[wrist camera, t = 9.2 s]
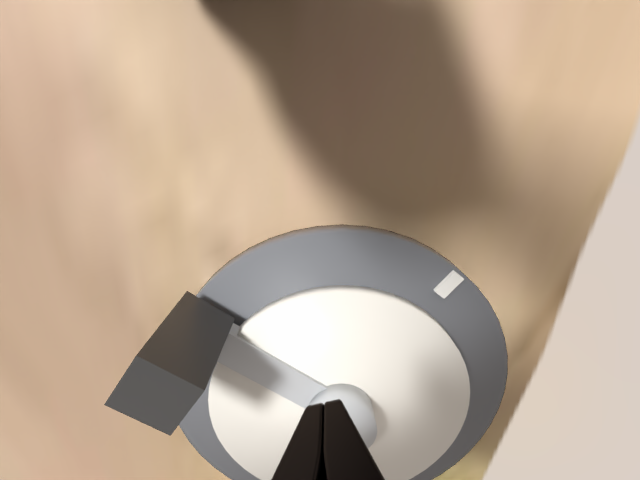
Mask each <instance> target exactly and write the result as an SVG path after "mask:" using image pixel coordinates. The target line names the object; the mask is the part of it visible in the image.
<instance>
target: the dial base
mask: <svg viewBox="0 0 640 480" xmlns="http://www.w3.org/2000/svg"><path fill="white" fill-rule="evenodd" d="M333 285H354V286H363V287H369V288H375V289H379V290H383V291H386V292H390V293H393V294H395V295H398V296H400V297H402V298H405V299H407V300H409V301H411V302H412V303H414V304H416V305H417V306H419V307H421V308H422V309H424V310H425V311H426V312H427V313H429V314H430V315H431V316H432V317H434V318H435V319H436V320H437V321H438V323H439V324H440V325H441V326H442V327H443V328H444V329H445V330H446V332H447V333H448V335H449V336H450V338H451V339H452V341H453V342H454V344H455V345H456V347H457V348H458V350H459V351H460V353H461V356H462V358H463V360H464V362H465V364H466V368H467V372H468V376H469V382H470V401H469V407H468V412H467V416H466V419H465V421H464V423H463V426H462V428H461V430H460V432H459V434H458V435H457V437H456V439H455V440H454V442H453V443H452V444H451V446H450V447H449V448H448V449H447V451H446V452H445V453H444V454H443V455H442V456H441V457H440V458H439V459H438V460H437V461H436V462H435V463H433V464H432V465H431V466H429V467H428V468H427V469H426V470H424V471H423V472H421V473H420V474H418V475H416V476H415V477H413V478H411V479H409V480H432V479H434V478H436V477H437V476H439V475H441V474H442V473H443V472H445V471H446V470H448V469H449V468H451V467H452V466H453V465H455V464H456V463H457V462H458V461H459V460H460V459H462V458H463V457H464V456H465V455H466V454H467V453H468V452H469V451H470V450H471V449H472V448H473V447H474V446H475V444H476V443H477V442H478V441H479V440H480V439H481V437H482V436H483V435H484V433H485V432H486V430H487V429H488V427H489V426H490V424H491V422H492V420H493V418H494V417H495V415H496V413H497V411H498V409H499V406H500V403H501V400H502V397H503V394H504V390H505V384H506V379H507V350H506V344H505V338H504V335H503V332H502V329H501V326H500V323H499V320H498V318H497V316H496V314H495V313H494V311H493V309H492V307H491V305H490V303H489V302H488V301H487V299H486V298H485V297H484V295H483V294H482V293H481V291H480V290H479V289H478V288H477V286H476V285H475V284H474V283H473V282H471V281H470V280H469V279H468V278H467V277H466V276H465V275H464V274H463V273H462V272H461V271H460V270H459V269H458V268H457V267H456V266H455V265H454V264H452V263H451V262H450V261H449V260H448V259H446V258H445V257H443V256H442V255H440V254H439V253H438V252H436V251H435V250H433V249H432V248H430V247H428V246H426V245H424V244H422V243H420V242H418V241H416V240H414V239H412V238H409V237H406V236H403V235H400V234H397V233H394V232H391V231H387V230H382V229H377V228H372V227H367V226H353V225H329V226H316V227H310V228H305V229H299V230H294V231H291V232H288V233H284V234H281V235H278V236H275V237H272V238H269V239H267V240H265V241H263V242H261V243H259V244H257V245H254V246H252V247H250V248H248V249H247V250H245V251H244V252H242V253H241V254H239V255H238V256H236V257H234V258H233V259H231V260H230V261H229V262H228V263H226V264H225V265H224V266H223V267H222V268H221V269H219V270H218V271H217V272H216V273H215V274H214V275H213V276H212V277H211V278H210V279H209V280H208V282H207V283H206V284H205V285H204V286H203V287H202V289H201V290H200V291H199V292H198V294H197V295H196V297H198V298H200V299H202V300H203V301H205V302H207V303H209V304H210V305H212V306H214V307H216V308H217V309H219V310H221V311H222V312H224V313H226V314H228V315H229V316H231V317H233V318H235V320H234V322H233V323H234V324H236V325H238V326H240V325H241V324H242V323H243V322H244V321H246V320H247V319H248V318H249V317H250V316H251V315H253V314H254V313H255V312H257V311H258V310H260V309H261V308H263V307H264V306H266V305H267V304H269V303H271V302H273V301H276V300H278V299H280V298H282V297H284V296H287V295H290V294H293V293H295V292H298V291H302V290H306V289H311V288H316V287H322V286H333ZM216 364H217V363H216ZM215 366H216V365H215ZM214 369H215V368H214ZM213 371H214V370H213ZM212 373H213V372H212ZM211 378H212V375H211V377H210V380H209V382H208V384H207V387H206V389H205V391H204V392H203V394H202V395H201V396H200V398H199V399H198V400H197V402H196V403H195V404H194V405H193V407H192V408H191V409H190V411H189V412H188V413H187V415H186V416H185V417H184V419H183V420H182V421H181V422H180V424H179V426H180V428H181V429H182V431H183V432H184V434H185V436H186V437H187V439H188V440H189V442H190V443H191V444H192V445H193V447H194V448H195V449H196V450H197V451H198V452H199V454H200V455H201V456H202V457H203V458H204V459H206V460H207V461H208V462H209V463H210V464H211V465H212V466H213V467H214V468H216V469H217V470H219V471H220V472H221V473H223V474H224V475H226V476H227V477H228V478H230V479H232V480H260V479H259V478H257V477H255V476H254V475H252V474H251V473H249V472H248V471H246V470H245V469H244V468H243V467H241V466H240V465H239V464H238V463H237V462H236V461H235V460H234V459H233V458H232V457H231V456H230V455H229V453H228V452H227V451H226V450H225V448H224V447H223V445H222V444H221V442H220V441H219V439H218V437H217V435H216V433H215V431H214V428H213V426H212V422H211V418H210V415H209V405H208V395H209V386H210V382H211Z"/></svg>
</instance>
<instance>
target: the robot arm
mask: <svg viewBox="0 0 640 480" xmlns="http://www.w3.org/2000/svg"><path fill="white" fill-rule="evenodd" d="M271 480H385V479H384V477H383V475H382V473H381V472H380V470H379V468H378V466H377V464H376V462H375V461H374V459H373V457H372V455H371V453H370V451H369V450H368V448H367V446H366V444H365V442H364V440H363V439H362V437H361V435H360V433H359V431H358V429H357V428H356V426H355V424H354V422H353V420H352V419H351V417H350V415H349V413H348V411H347V409H346V408H345V406H344V404H343V402H342V401H341V400H340V399H336V400H331V401H327V402H325V404H323V403H317V404H312V405H308V406H307V407H306V408H305V410H304V412H303V414H302V416H301V419H300V421H299V423H298V425H297V427H296V429H295V431H294V433H293V435H292V437H291V440H290V442H289V444H288V446H287V448H286V450H285V452H284V454H283V456H282V458H281V460H280V463H279V465H278V467H277V469H276V471H275V473H274V475H273V477H272V479H271Z"/></svg>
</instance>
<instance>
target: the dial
mask: <svg viewBox="0 0 640 480" xmlns="http://www.w3.org/2000/svg"><path fill="white" fill-rule="evenodd" d="M234 320H235V318H233V317H231V316H229V315H228V314H226V313H224V312H222V311H221V310H219V309H217V308H216V307H214V306H212V305H210V304H209V303H207V302H205V301H203V300H202V299H200V298H198V297H196V296H195V295H193V294H191V293H190V292H188V291H187V292H186V293H185V294H184V296H183V297H182V298H181V300H180V301H179V302H178V303H177V305H176V306H175V307H174V308H173V310H172V311H171V312H170V313H169V315H168V316H167V317H166V319H165V320H164V321H163V322H162V324H161V325H160V326H159V327H158V329H157V330H156V331H155V333H154V334H153V335H152V336H151V338H150V339H149V340H148V341H147V343H146V344H145V345H144V346H143V348H142V349H141V350H140V352H139V353H138V354H137V355H136V357H135V358H134V360H133V361H132V363H131V365H130V366H129V368H128V369H127V371H126V372H125V374H124V375H123V377H122V378H121V380H120V381H119V383H118V384H117V386H116V388H115V389H114V391H113V392H112V394H111V395H110V397H109V398H108V400H107V401H106V403H105V404H104V405H106V406H108V407H110V408H112V409H114V410H116V411H119V412H121V413H123V414H125V415H127V416H129V417H132V418H134V419H136V420H138V421H140V422H142V423H144V424H147V425H149V426H151V427H153V428H155V429H157V430H159V431H162V432H164V433H166V434H168V435H170V436H171V434H172V433H173V432H174V430H175V429H176V428H177V426H178V425H179V424H180V422H181V421H182V420H183V419H184V417H185V416H186V415H187V413H188V412H189V411H190V409H191V408H192V407H193V405H194V404H195V403H196V402H197V400H198V399H199V398H200V396H201V395H202V394H203V392H204V391H205V389H206V387H207V384H208V382H209V380H210V377H211V375H212V378H211V382H210V386H209V395H208V405H209V415H210V418H211V422H212V426H213V428H214V431H215V433H216V435H217V437H218V439H219V441H220V442H221V444H222V445H223V447H224V448H225V450H226V451H227V452H228V453H229V455H230V456H231V457H232V458H233V459H234V460H235V461H236V462H237V463H238V464H239V465H240V466H241V467H243V468H244V469H245V470H246V471H248V472H249V473H251V474H252V475H254V476H255V477H257V478H259V479H260V480H271V479H272V477H273V475H274V473H275V471H276V469H277V467H278V465H279V463H280V460H281V458H282V456H283V454H284V452H285V450H286V448H287V446H288V444H289V442H290V440H291V437H292V435H293V433H294V431H295V429H296V427H297V425H298V423H299V421H300V419H301V416H302V414H303V412H304V410H305V408H306V407H307V406H308V405H312V404H317V403H323V404H325V402H327V401H331V400H336V399H340V400H341V401H342V402H343V404H344V406H345V408H346V409H347V411H348V413H349V415H350V417H351V419H352V420H353V422H354V424H355V426H356V428H357V429H358V431H359V433H360V435H361V437H362V439H363V440H364V442H365V444H366V446H367V448H368V450H369V451H370V453H371V455H372V457H373V459H374V461H375V462H376V464H377V466H378V468H379V470H380V472H381V473H382V475H383V477H384V479H385V480H409V479H411V478H413V477H415V476H416V475H418V474H420V473H421V472H423V471H424V470H426V469H427V468H428V467H429V466H431V465H432V464H433V463H435V462H436V461H437V460H438V459H439V458H440V457H441V456H442V455H443V454H444V453H445V452H446V451H447V449H448V448H449V447H450V446H451V444H452V443H453V442H454V440H455V439H456V437H457V435H458V434H459V432H460V430H461V428H462V426H463V423H464V421H465V419H466V416H467V412H468V407H469V401H470V382H469V376H468V372H467V368H466V364H465V362H464V360H463V358H462V356H461V353H460V351H459V350H458V348H457V347H456V345H455V344H454V342H453V341H452V339H451V338H450V336H449V335H448V333H447V332H446V330H445V329H444V328H443V327H442V326H441V325H440V324H439V323H438V321H437V320H436V319H435V318H434V317H432V316H431V315H430V314H429V313H427V312H426V311H425V310H424V309H422V308H421V307H419V306H417V305H416V304H414V303H412V302H411V301H409V300H407V299H405V298H402V297H400V296H398V295H395V294H393V293H390V292H386V291H383V290H379V289H375V288H369V287H363V286H354V285H333V286H322V287H316V288H311V289H306V290H302V291H298V292H295V293H293V294H290V295H287V296H284V297H282V298H280V299H278V300H276V301H273V302H271V303H269V304H267V305H266V306H264V307H263V308H261V309H260V310H258V311H257V312H255V313H254V314H253V315H251V316H250V317H249V318H248V319H247V320H246V321H244V322H243V323H242V324H241V325H240V326H238V325H236V324H234V323H233V322H234ZM216 363H217V364H216ZM215 365H216V366H215ZM214 368H215V369H214ZM213 370H214V371H213ZM212 372H213V373H212Z"/></svg>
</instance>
